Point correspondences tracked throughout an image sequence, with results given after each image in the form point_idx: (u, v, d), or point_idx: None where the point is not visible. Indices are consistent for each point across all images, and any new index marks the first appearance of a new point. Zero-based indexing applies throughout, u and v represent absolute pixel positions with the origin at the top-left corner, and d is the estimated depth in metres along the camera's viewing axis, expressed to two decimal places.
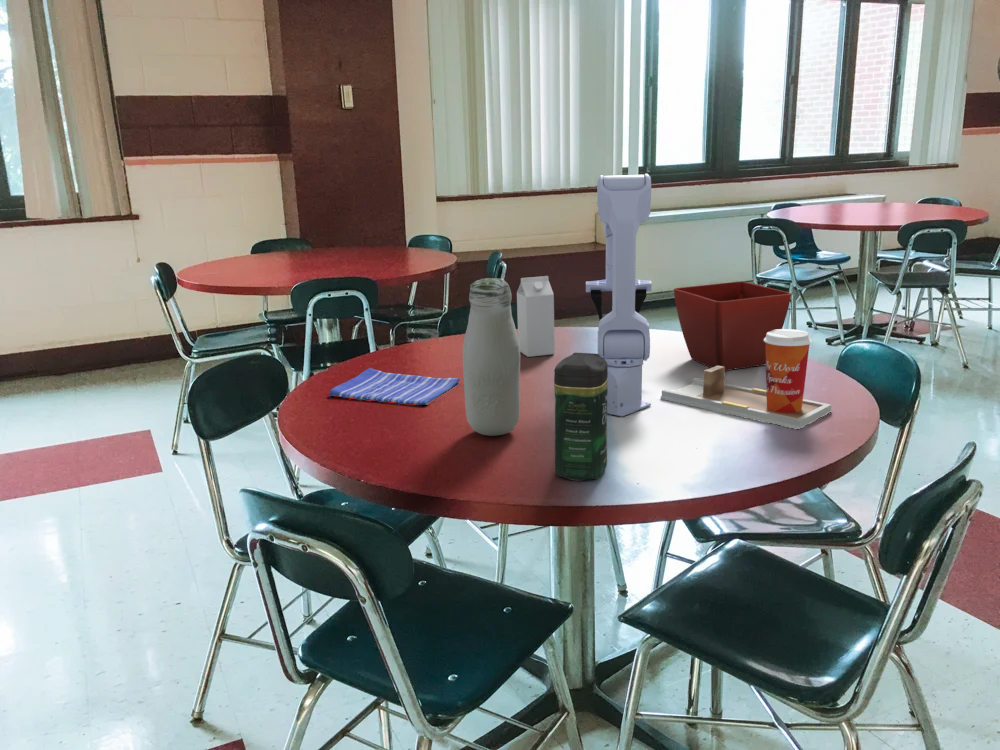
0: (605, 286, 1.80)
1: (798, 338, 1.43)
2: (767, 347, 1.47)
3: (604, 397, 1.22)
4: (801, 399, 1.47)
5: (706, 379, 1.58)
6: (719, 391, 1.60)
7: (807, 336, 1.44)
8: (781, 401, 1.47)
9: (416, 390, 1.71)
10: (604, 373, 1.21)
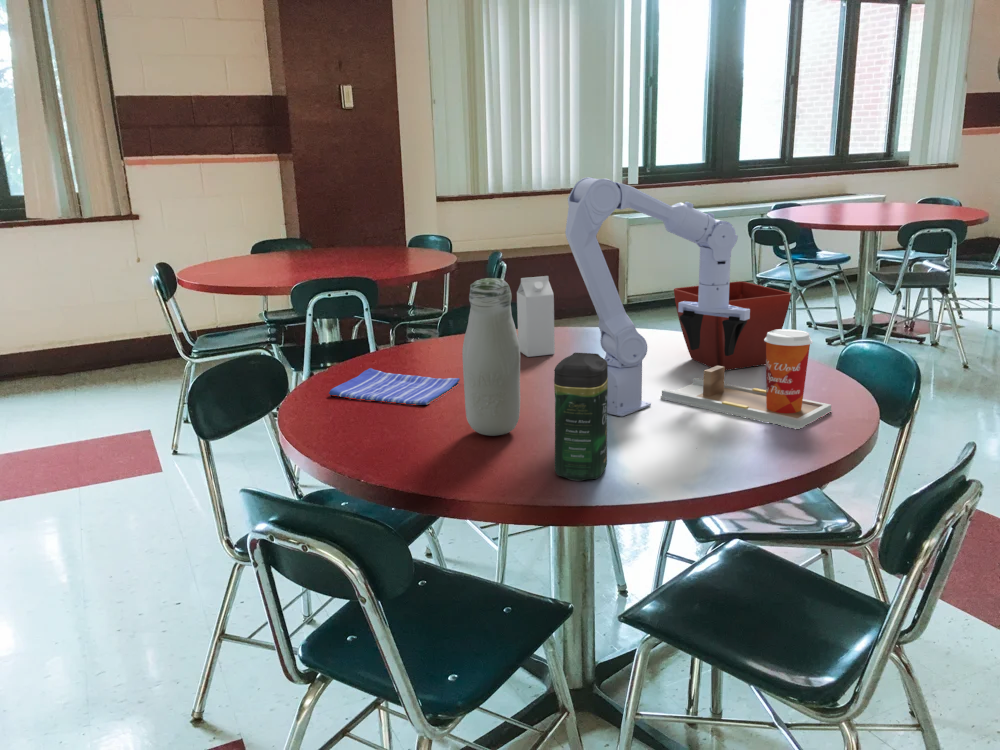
0: (694, 306, 1.57)
1: (799, 338, 1.43)
2: (768, 347, 1.47)
3: (604, 397, 1.22)
4: (801, 399, 1.47)
5: (706, 379, 1.58)
6: (719, 391, 1.60)
7: (808, 336, 1.44)
8: (781, 401, 1.47)
9: (416, 390, 1.71)
10: (604, 373, 1.21)
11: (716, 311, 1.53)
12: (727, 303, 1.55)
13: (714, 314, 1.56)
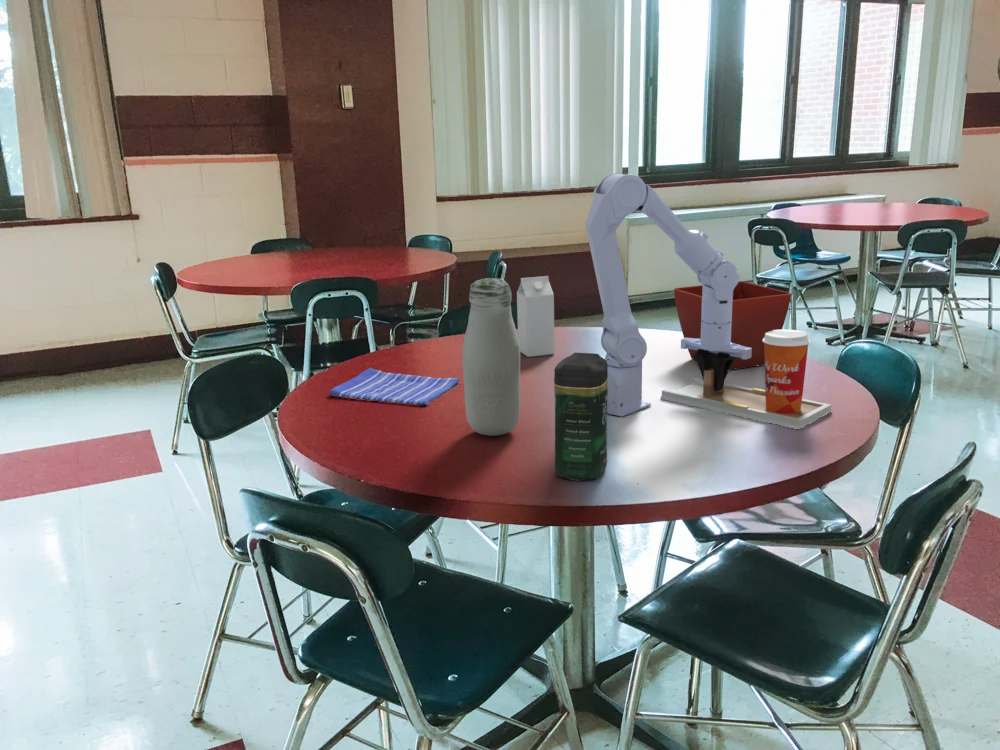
0: (696, 344, 1.58)
1: (797, 338, 1.43)
2: (766, 347, 1.46)
3: (604, 397, 1.22)
4: (800, 399, 1.47)
5: (706, 379, 1.58)
6: (719, 391, 1.60)
7: (806, 336, 1.44)
8: (780, 402, 1.47)
9: (416, 390, 1.71)
10: (604, 373, 1.21)
11: (718, 349, 1.55)
12: (729, 341, 1.56)
13: (716, 352, 1.58)
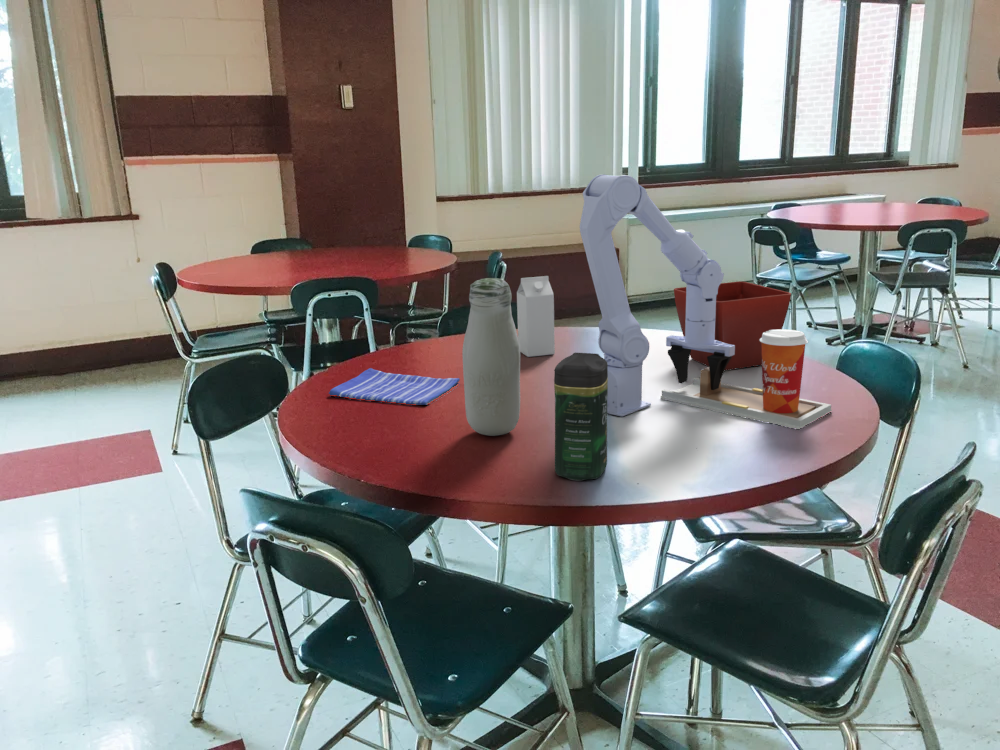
0: (681, 341, 1.61)
1: (794, 338, 1.43)
2: (763, 347, 1.47)
3: (604, 397, 1.22)
4: (798, 399, 1.48)
5: (703, 378, 1.59)
6: (716, 390, 1.61)
7: (803, 336, 1.45)
8: (778, 401, 1.47)
9: (416, 390, 1.71)
10: (604, 373, 1.21)
11: (702, 347, 1.57)
12: (713, 339, 1.58)
13: (700, 349, 1.60)
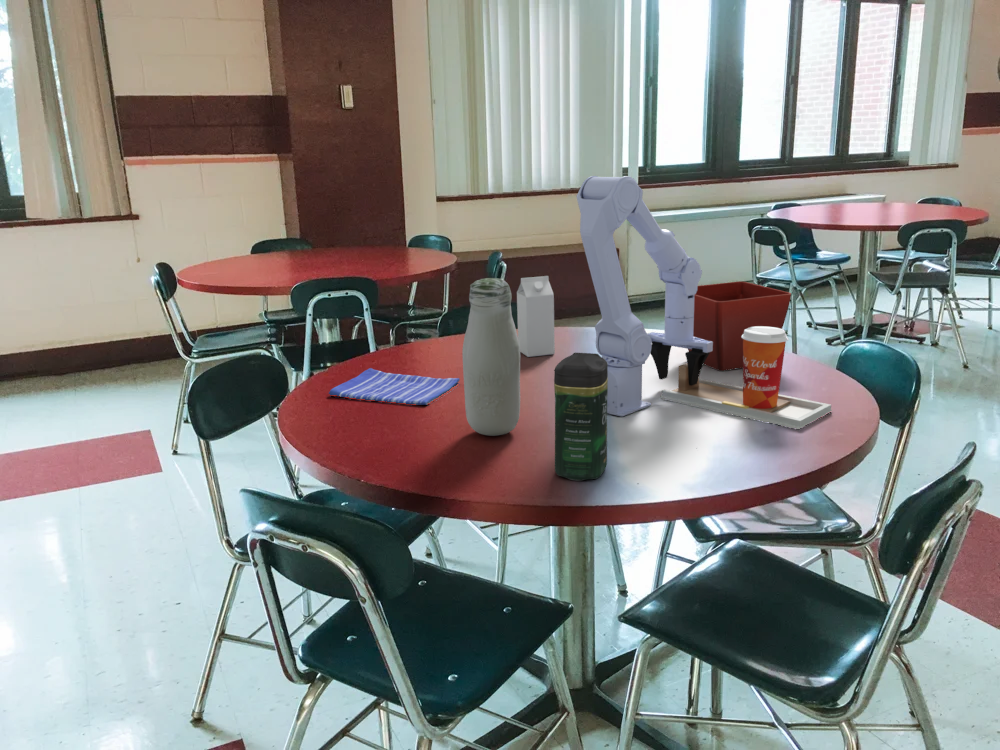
0: (660, 338, 1.64)
1: (776, 335, 1.46)
2: (745, 344, 1.49)
3: (604, 397, 1.22)
4: (777, 395, 1.51)
5: (681, 374, 1.62)
6: (694, 386, 1.64)
7: (784, 333, 1.47)
8: (758, 397, 1.50)
9: (416, 390, 1.71)
10: (604, 373, 1.21)
11: (681, 343, 1.61)
12: (691, 335, 1.62)
13: (679, 346, 1.64)
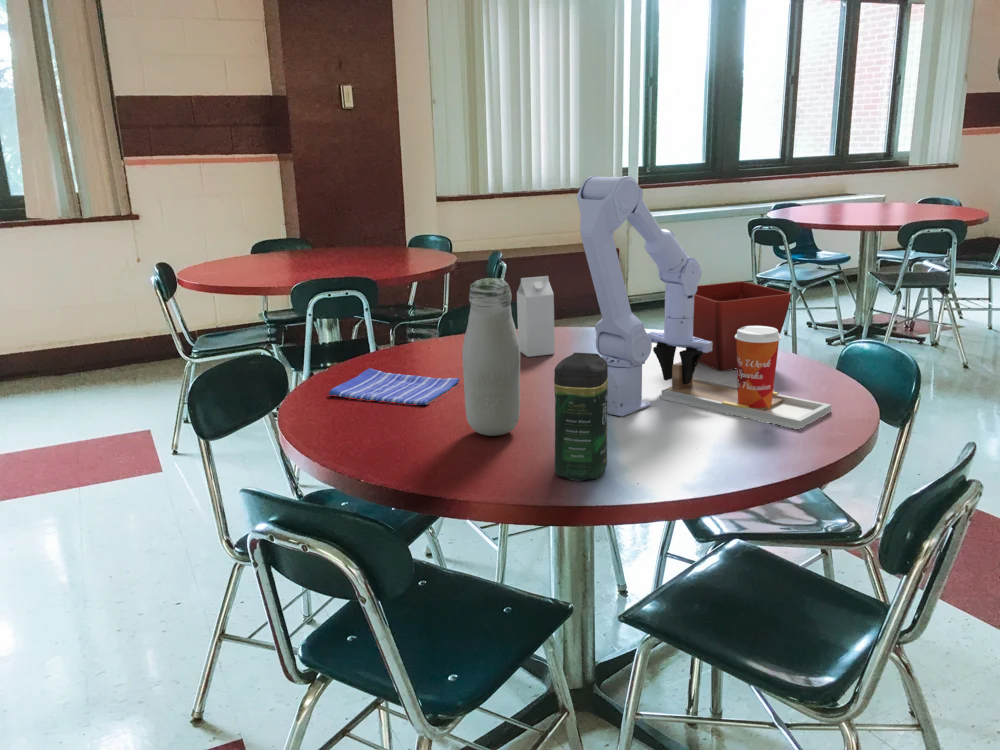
0: (660, 338, 1.64)
1: (769, 335, 1.46)
2: (739, 344, 1.50)
3: (604, 397, 1.22)
4: (771, 394, 1.51)
5: (675, 373, 1.63)
6: (688, 384, 1.66)
7: (777, 332, 1.48)
8: (753, 397, 1.50)
9: (416, 390, 1.71)
10: (604, 373, 1.21)
11: (680, 343, 1.61)
12: (691, 335, 1.62)
13: (679, 345, 1.64)
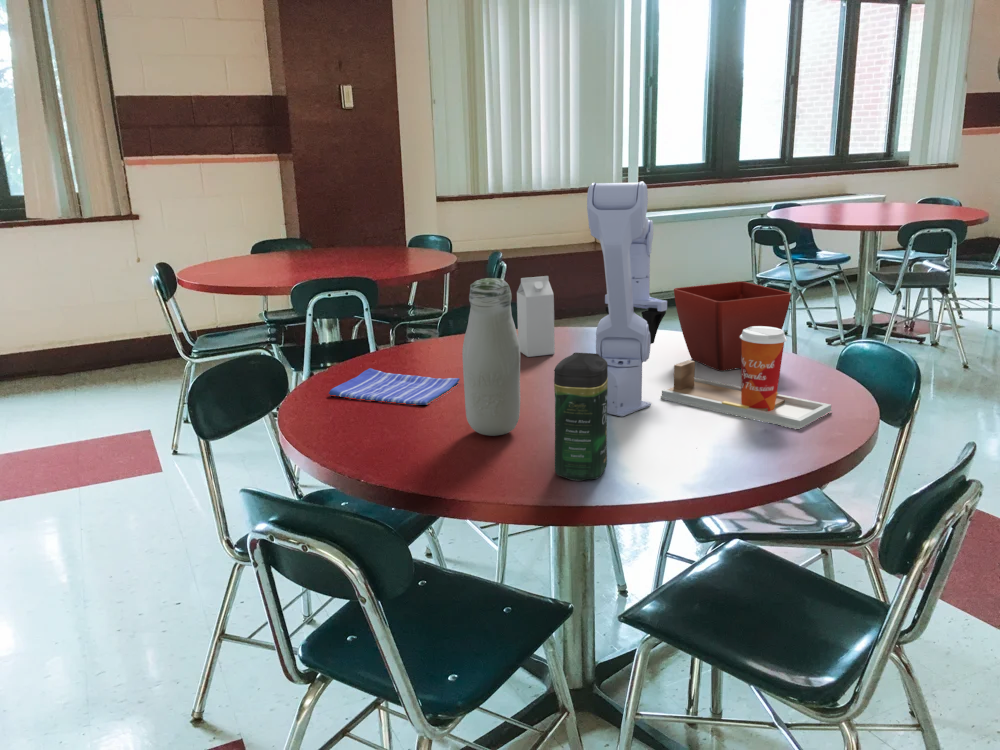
0: None
1: (773, 336, 1.46)
2: (743, 344, 1.49)
3: (604, 397, 1.22)
4: (775, 395, 1.51)
5: (676, 373, 1.63)
6: (689, 385, 1.65)
7: (782, 334, 1.47)
8: (755, 397, 1.50)
9: (416, 390, 1.71)
10: (604, 373, 1.21)
11: (636, 302, 1.65)
12: (647, 295, 1.66)
13: (636, 305, 1.67)
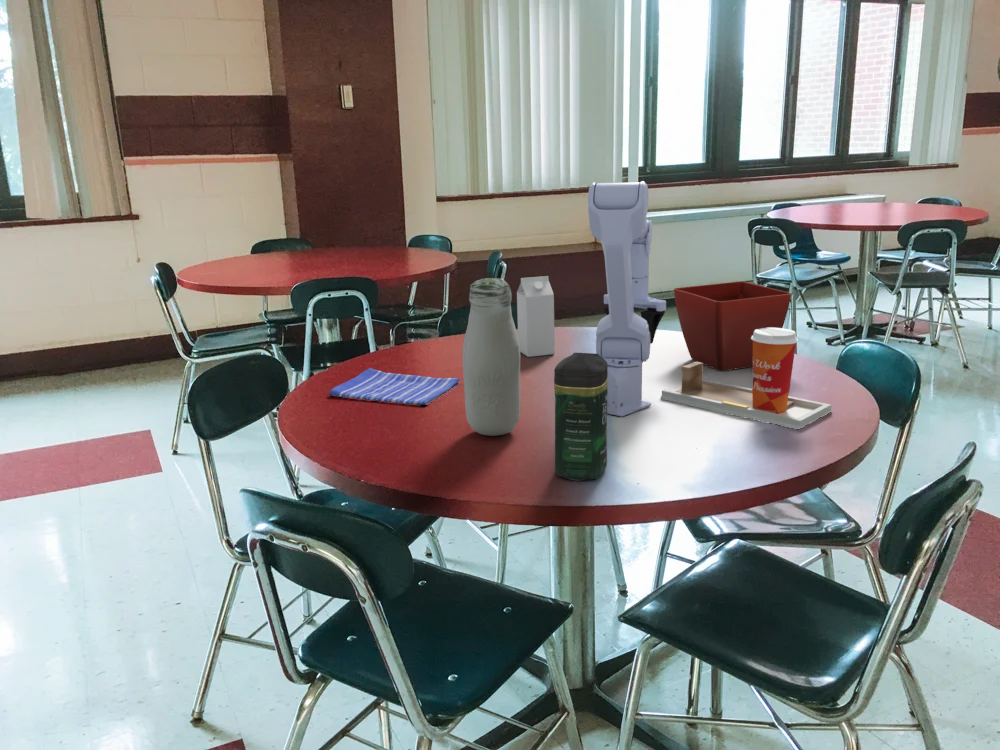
0: None
1: (779, 337, 1.45)
2: None
3: (604, 397, 1.22)
4: (783, 398, 1.49)
5: (684, 375, 1.62)
6: (697, 386, 1.64)
7: (791, 336, 1.45)
8: (761, 398, 1.49)
9: (416, 390, 1.71)
10: (604, 373, 1.21)
11: (635, 302, 1.65)
12: (646, 295, 1.66)
13: (635, 305, 1.68)
